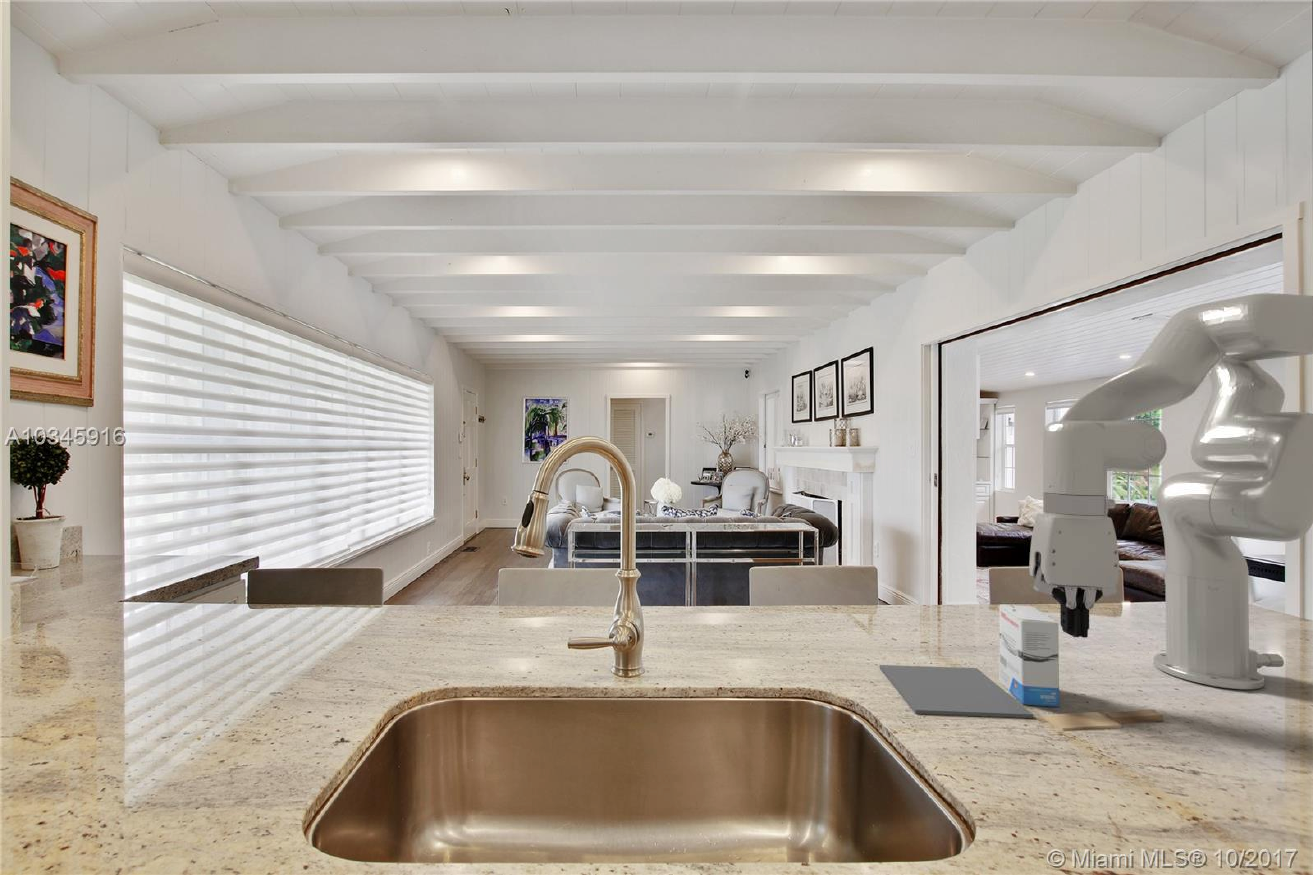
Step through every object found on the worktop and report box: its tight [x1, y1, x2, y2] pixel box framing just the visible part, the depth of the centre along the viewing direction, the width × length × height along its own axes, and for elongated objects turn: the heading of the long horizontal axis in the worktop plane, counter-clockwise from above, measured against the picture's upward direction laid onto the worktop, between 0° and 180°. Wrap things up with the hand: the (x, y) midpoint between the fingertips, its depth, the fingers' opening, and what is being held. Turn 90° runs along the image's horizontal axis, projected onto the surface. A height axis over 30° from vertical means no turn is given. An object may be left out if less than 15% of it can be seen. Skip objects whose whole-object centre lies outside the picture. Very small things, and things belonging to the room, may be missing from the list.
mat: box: [879, 664, 1034, 719], centre depth 85 cm, size 15×16×1 cm
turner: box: [1041, 709, 1164, 731], centre depth 76 cm, size 15×4×1 cm, turn 95°
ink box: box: [998, 604, 1060, 708], centre depth 84 cm, size 8×5×12 cm, turn 168°
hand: (1074, 634), depth 84 cm, fingers closed
